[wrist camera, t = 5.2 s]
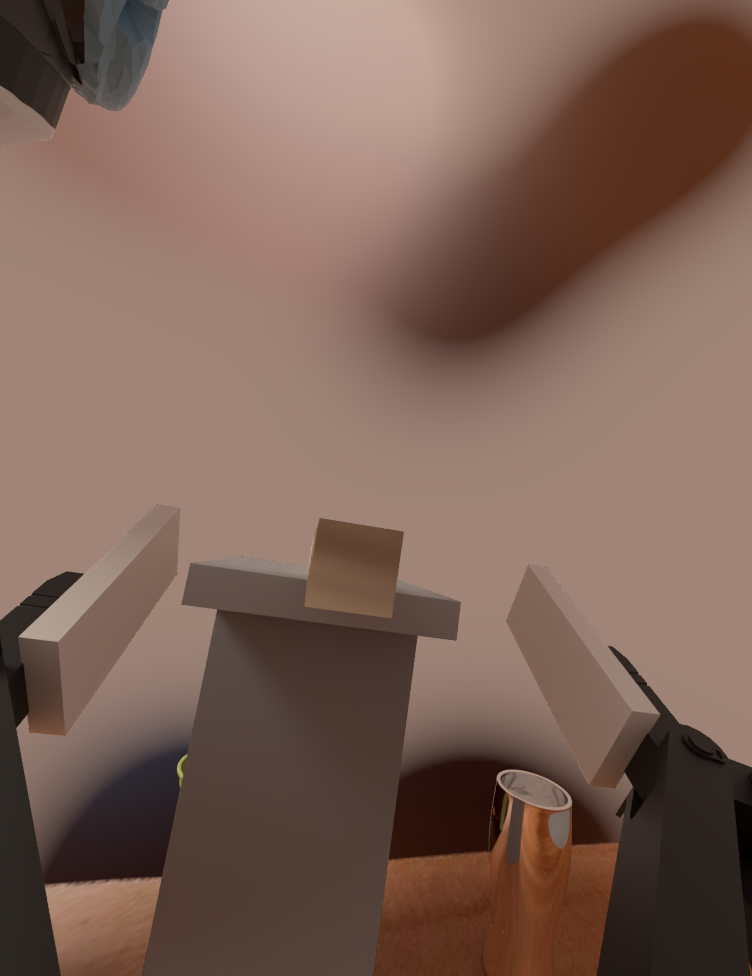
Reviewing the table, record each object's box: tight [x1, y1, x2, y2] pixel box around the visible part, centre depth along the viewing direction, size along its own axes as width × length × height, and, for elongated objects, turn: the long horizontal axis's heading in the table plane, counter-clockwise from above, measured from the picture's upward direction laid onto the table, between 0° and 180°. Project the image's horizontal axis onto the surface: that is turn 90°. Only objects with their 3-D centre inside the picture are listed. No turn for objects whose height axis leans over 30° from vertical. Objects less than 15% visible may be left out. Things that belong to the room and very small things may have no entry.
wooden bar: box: [304, 518, 404, 618], centre depth 25 cm, size 26×2×2 cm, turn 9°
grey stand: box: [142, 557, 461, 976], centre depth 27 cm, size 16×14×32 cm
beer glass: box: [482, 770, 572, 976], centre depth 38 cm, size 7×7×15 cm
